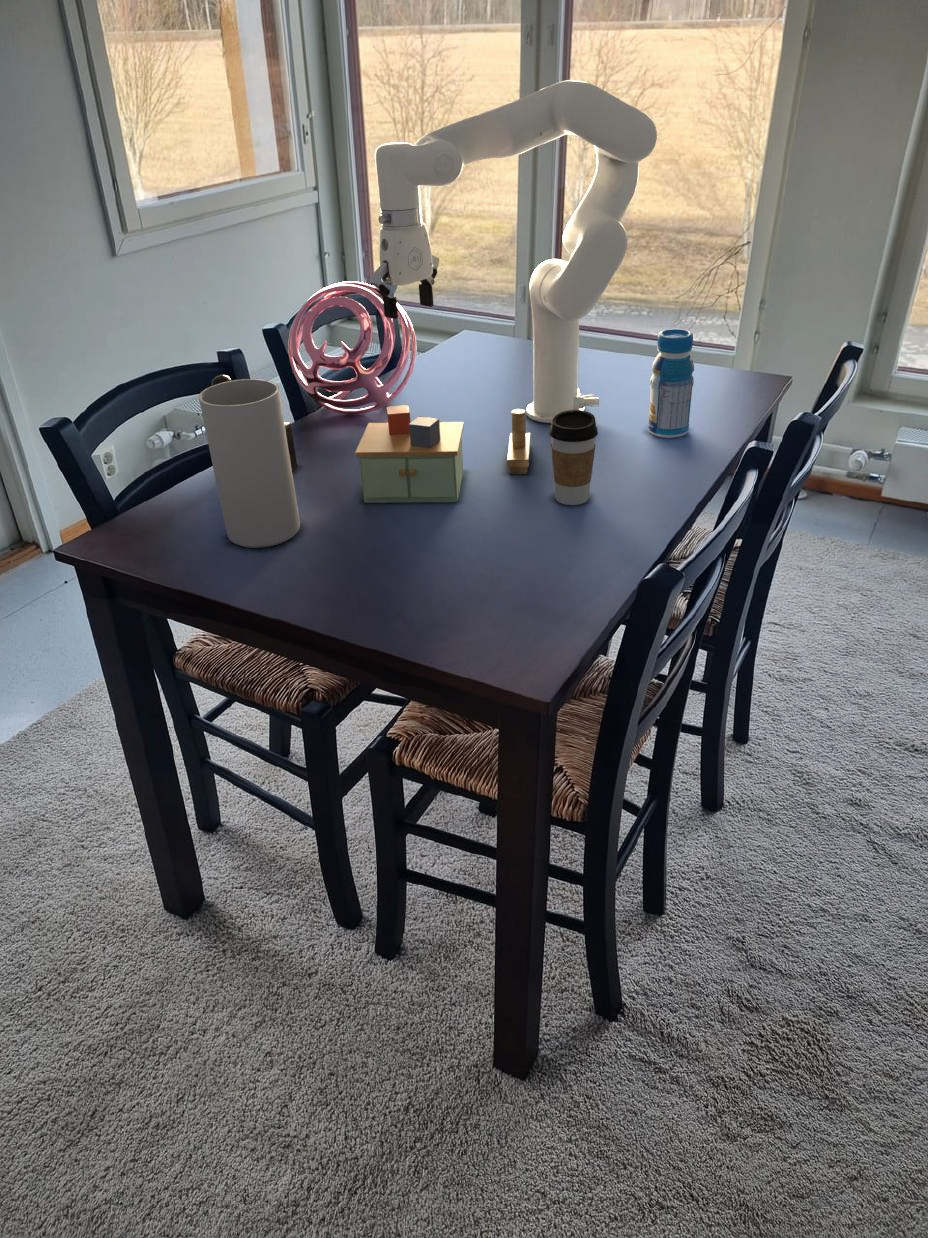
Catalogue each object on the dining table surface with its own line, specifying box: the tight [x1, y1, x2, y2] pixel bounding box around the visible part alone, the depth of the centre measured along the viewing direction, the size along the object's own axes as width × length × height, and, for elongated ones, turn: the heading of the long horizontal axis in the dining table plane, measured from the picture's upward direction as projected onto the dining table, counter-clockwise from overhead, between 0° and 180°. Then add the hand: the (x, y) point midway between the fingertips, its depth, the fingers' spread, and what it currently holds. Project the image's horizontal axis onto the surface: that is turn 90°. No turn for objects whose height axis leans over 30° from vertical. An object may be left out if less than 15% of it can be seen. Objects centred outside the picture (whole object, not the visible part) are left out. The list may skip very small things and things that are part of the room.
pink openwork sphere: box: [287, 281, 418, 415], centre depth 205 cm, size 28×28×27 cm
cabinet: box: [354, 421, 465, 504], centre depth 171 cm, size 18×15×10 cm
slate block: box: [409, 415, 441, 448], centre depth 165 cm, size 4×4×4 cm
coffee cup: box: [548, 410, 599, 506], centre depth 163 cm, size 8×8×15 cm
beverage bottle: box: [647, 328, 695, 439], centre depth 186 cm, size 8×8×20 cm
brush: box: [506, 408, 531, 475], centre depth 179 cm, size 4×13×10 cm, turn 175°
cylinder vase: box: [198, 378, 301, 549], centre depth 154 cm, size 12×12×25 cm
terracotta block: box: [385, 404, 412, 435], centre depth 170 cm, size 4×4×4 cm
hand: (409, 311), depth 182 cm, fingers open, 9 cm apart
